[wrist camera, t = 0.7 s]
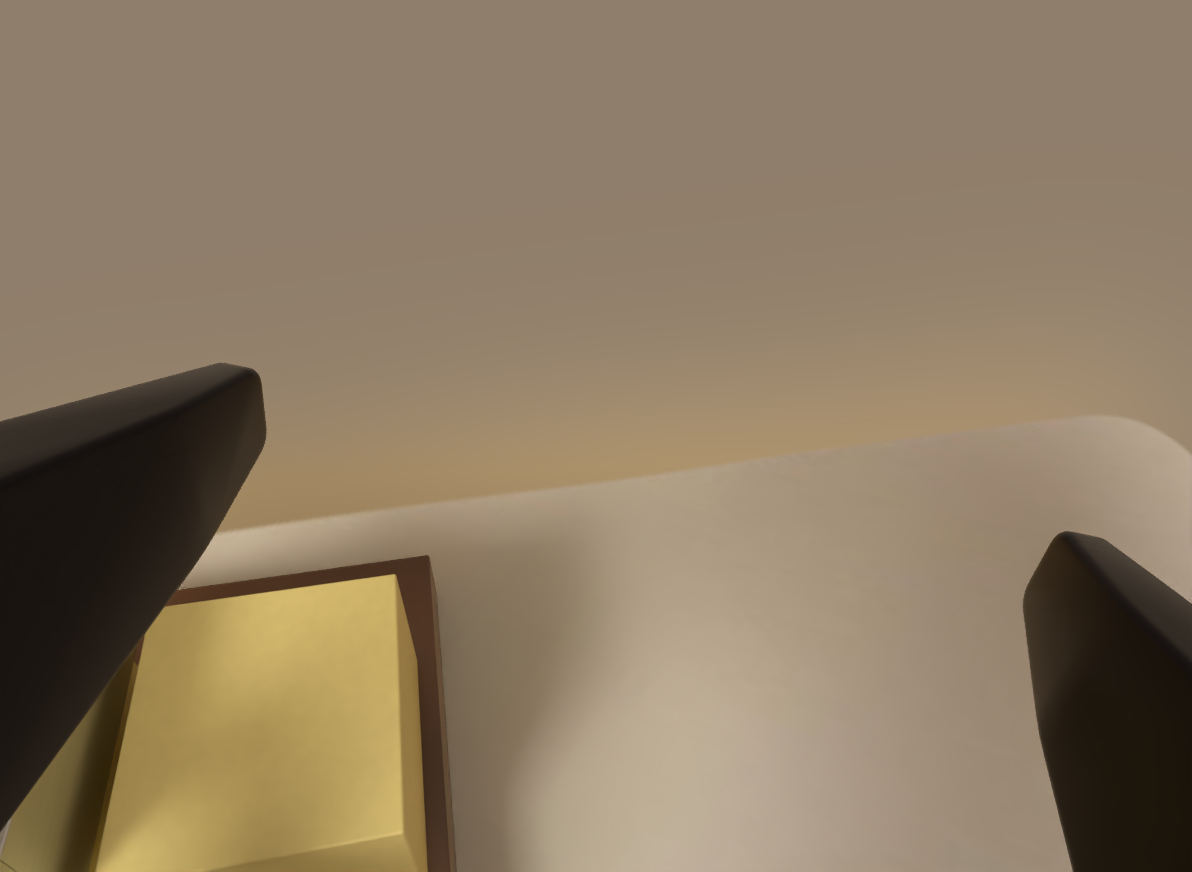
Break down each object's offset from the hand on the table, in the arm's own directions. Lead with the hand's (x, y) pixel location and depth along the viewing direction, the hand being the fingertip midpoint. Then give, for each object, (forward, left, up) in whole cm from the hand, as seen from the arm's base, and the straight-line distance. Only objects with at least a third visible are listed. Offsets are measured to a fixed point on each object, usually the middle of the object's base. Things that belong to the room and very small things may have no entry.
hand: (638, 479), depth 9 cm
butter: (-2, +9, -13) cm, 16 cm away
